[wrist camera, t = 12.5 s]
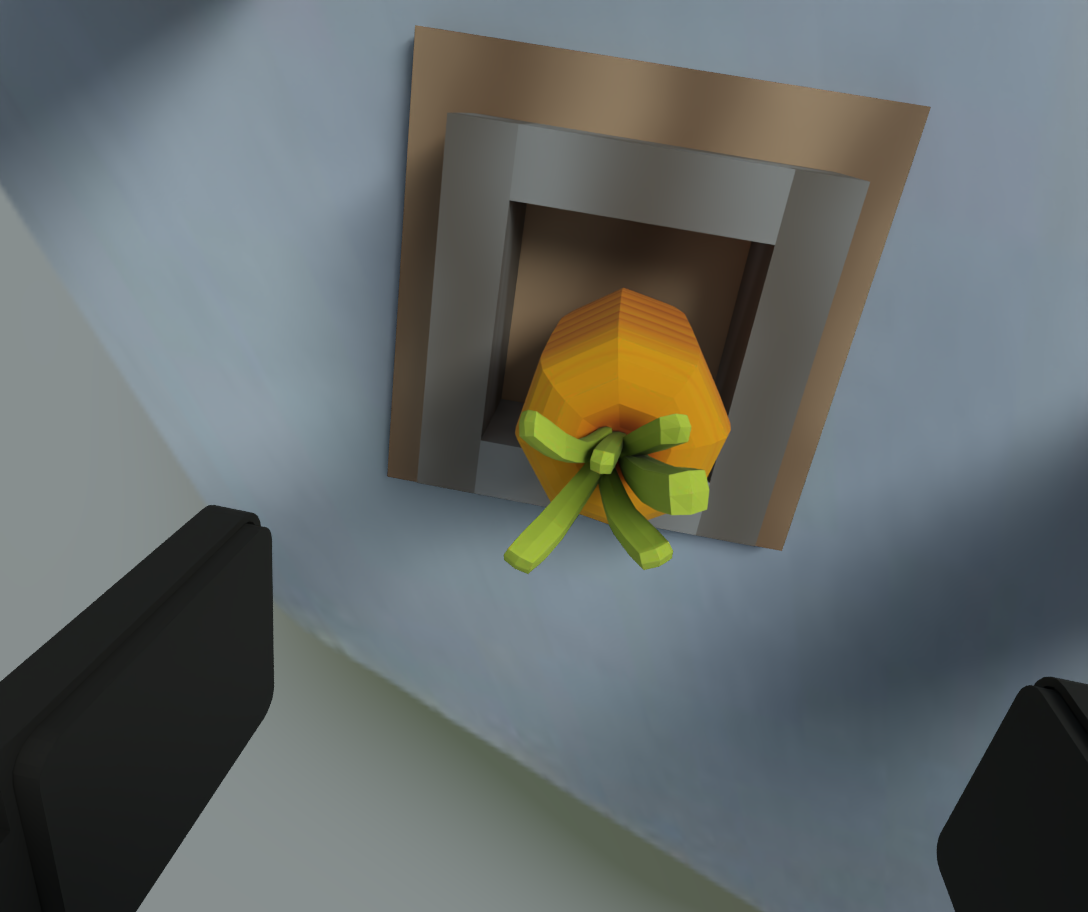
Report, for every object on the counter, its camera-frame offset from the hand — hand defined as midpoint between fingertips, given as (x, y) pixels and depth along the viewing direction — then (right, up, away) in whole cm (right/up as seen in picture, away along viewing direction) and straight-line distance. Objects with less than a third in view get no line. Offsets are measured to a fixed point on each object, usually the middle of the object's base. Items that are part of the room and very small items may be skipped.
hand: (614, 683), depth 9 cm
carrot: (+2, +8, +17) cm, 19 cm away
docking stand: (+2, +8, +18) cm, 20 cm away
